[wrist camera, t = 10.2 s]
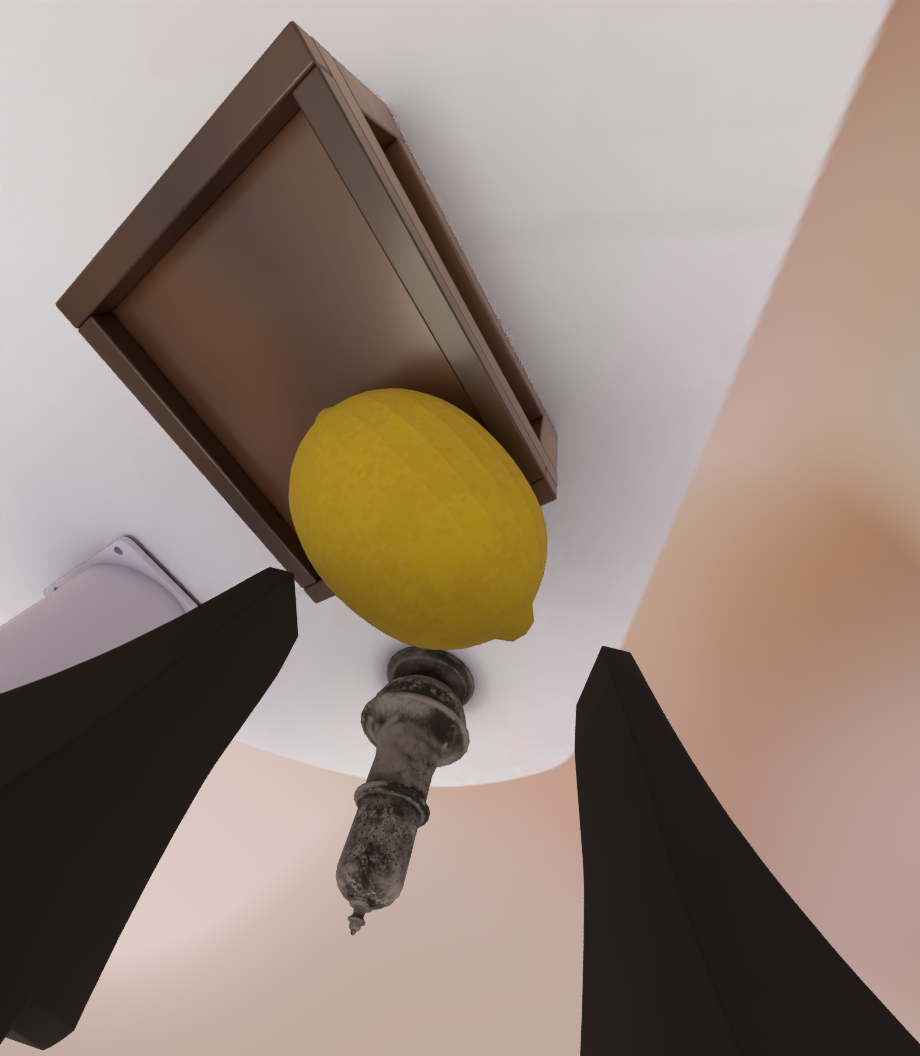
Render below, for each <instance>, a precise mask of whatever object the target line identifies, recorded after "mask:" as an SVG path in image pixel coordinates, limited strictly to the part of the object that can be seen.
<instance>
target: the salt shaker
mask: <svg viewBox="0 0 920 1056" xmlns="http://www.w3.org/2000/svg"><path fill="white" fill-rule="evenodd" d="M387 677H388V681H389V684H387V685H386V686H385V687H384V688H383V689H382V690H381V691H380V692H378V693H377V695H376V697H374V698H373V699H372V700H371V701H369V702H368V703H367V704H366V706H365V707H364V709H363V711H362V713H361V724H362V727H363V731H364V733H365V734H366V736H367V737H368V739H369V740H370V742H371V743H372V744H373V745H374V746H375V747H377V748H376V756H375V759H374V761H373V764H372V767H371V770H370V772H369V775H368V778H367V781H366V783H364V784H362V785H361V786H360V787H358V788H357V790H356V791H355V794H354V800H355V803H356V806H357V807H358V810H357V813H356V816H355V818H354V821H353V824H352V826H351V829H350V832H349V835H348V837H347V840H346V843H345V846H344V848H343V851H342V854H341V857H340V859H339V862H338V865H337V871H336V880H337V885H338V888H339V890H340V891H341V893H342V895H343V896H344V897H345V898H346V899H347V900H348V901H349V902H350V906H351V907H352V908H354V912H353V914H352V915H351V916H350V917H348V920H349V922H350V924H349V928H350V930H351V935H354V934H355V933H356V932H357V931H359V930H360V928H361V926H364V925H365V921H364V919H363V917H364V915H365V913H367V912H371V911H372V910H376V909H381V908H383V907H386V906H389V905H391V904H392V903H393V902H394V901H395V900H396V899H397V898H398V897H399V895H400V893H401V891H402V888H403V885H404V881H405V877H406V873H407V869H408V865H409V861H410V857H411V853H412V849H413V845H414V840H415V836H416V832H417V828H419V827H421V826H423V825H424V824H425V823H426V822H427V821H428V819H429V815H430V811H429V807H428V805H427V804H426V799H427V795H428V791H429V787H430V782H431V778H432V775H433V773H434V771H435V769H436V767H441V766H445V765H449V764H452V763H454V762H455V761H457V760H459V759H461V758H462V756H463V755H464V754H465V753H466V752H467V749H468V745H469V733H468V730H467V728H466V720H465V715H464V710H463V705H464V704H466V703H467V702H468V701H469V700H470V698H471V697H472V694H473V691H474V680H473V677H472V675H471V673H470V671H469V669H468V668H467V667H466V666H465V665H464V664H463V663H462V662H461V661H460V660H458V659H457V658H456V657H454V656H453V655H451V654H449V653H447V652H444V651H442V650H432V649H425V648H419V647H411V648H407V649H404V650H402V651H399V652H398V653H397V654H395V655H394V656H393V657H392V658H391V660H390V662H389V664H388V666H387Z"/></svg>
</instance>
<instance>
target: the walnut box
mask: <svg viewBox="0 0 920 1056" xmlns="http://www.w3.org/2000/svg"><path fill="white" fill-rule="evenodd" d="M56 306H57V308H58V309H59V310H60V311H61V312H62V313H63V314H64V316H65V317H66V318H67V319H68V320H69V321H70V322H71V324H72V325H73V326H74V327H75V328H79V330H78V331H79V333H80V334H81V335H82V336H83V337H84V338H85V340H86V341H87V342H88V343H89V344H90V345H91V346H92V348H93V349H94V350H95V351H96V352H97V353H98V354H99V356H100V357H101V358H102V359H103V360H104V361H105V362H106V364H107V365H108V366H109V367H110V368H111V369H112V371H113V372H114V373H115V374H116V375H117V376H118V377H119V379H120V380H121V381H122V382H123V383H124V384H125V385H126V387H127V388H128V389H129V390H130V391H131V392H132V393H133V395H134V396H135V397H136V398H137V399H138V400H139V402H140V403H141V404H142V405H143V406H144V407H145V408H146V410H147V411H148V412H149V413H150V414H151V415H152V416H153V418H154V419H155V420H156V421H157V422H158V423H159V424H160V426H161V427H162V428H163V429H164V430H165V431H166V433H167V434H168V435H169V436H170V437H171V438H172V439H173V441H174V442H175V443H176V444H177V445H178V446H179V447H180V449H181V450H182V451H183V452H184V453H185V454H186V455H187V457H188V458H189V459H190V460H191V461H192V462H193V464H194V465H195V466H196V467H197V468H198V469H199V470H200V472H201V473H202V474H203V475H204V476H205V477H206V478H207V480H208V481H209V482H210V483H211V484H212V485H213V486H214V488H215V489H216V490H217V491H218V492H219V493H220V495H221V496H222V497H223V498H224V499H225V500H226V501H227V503H228V504H229V505H230V506H231V507H232V508H233V509H234V511H235V512H236V513H237V514H238V515H239V516H240V517H241V519H242V520H243V521H244V522H245V523H246V524H247V525H248V527H249V528H250V529H251V530H252V531H253V532H254V534H255V535H256V536H257V537H258V538H259V539H260V540H261V542H262V543H263V544H264V545H265V546H266V547H267V548H268V550H269V551H270V552H271V553H272V554H273V555H274V556H275V558H276V559H277V560H278V561H279V562H280V563H281V565H282V566H283V567H284V568H285V569H286V570H287V571H288V572H292V573H294V579H295V581H296V582H297V583H298V584H299V585H300V586H301V587H302V588H304V587H305V588H304V591H305V592H306V593H307V594H308V595H309V597H310V598H311V599H312V600H313V601H314V602H315V603H319V602H321V601H323V600H326V599H328V598H330V597H332V596H335V594H334V593H333V591H332V590H331V589H330V588H329V587H328V586H327V585H326V584H325V582H324V581H323V580H322V578H321V577H320V576H319V574H318V573H317V572H316V570H315V569H314V567H313V565H312V564H311V562H310V561H309V559H308V557H307V555H306V553H305V551H304V549H303V547H302V545H301V542H300V540H299V537H298V535H297V532H296V529H295V526H294V523H293V520H292V516H291V512H290V506H289V484H290V472H291V467H292V464H293V460H294V458H295V455H296V452H297V449H298V447H299V445H300V443H301V442H302V440H303V438H304V437H305V435H306V434H307V432H308V431H309V429H310V428H311V427H312V425H313V424H314V423H315V420H316V417H317V415H318V414H319V413H320V412H321V411H322V410H323V409H325V408H328V407H333V406H335V405H337V404H338V403H340V402H342V401H344V400H345V399H347V398H349V397H351V396H354V395H357V394H360V393H363V392H365V391H371V390H377V389H387V388H403V389H408V390H414V391H418V392H422V393H426V394H429V395H432V396H435V397H438V398H440V399H442V400H444V401H446V402H448V403H450V404H452V405H454V406H456V407H457V408H459V409H460V410H462V411H464V412H465V413H466V414H468V415H469V416H470V417H472V418H473V419H474V420H476V421H477V422H478V423H479V424H480V425H481V426H482V427H483V428H484V429H486V430H487V431H488V432H489V433H490V434H491V435H492V436H493V437H494V438H495V439H496V440H497V442H498V443H499V444H500V445H501V446H502V447H503V448H504V449H505V450H506V452H507V453H508V454H509V455H510V456H511V458H512V459H513V460H514V462H515V463H516V465H517V466H518V467H519V469H520V470H521V472H522V473H523V475H524V476H525V478H526V480H527V481H528V483H529V485H530V486H531V488H532V490H533V492H534V494H535V496H536V498H537V500H538V503H539V505H540V506H542V505H544V504H546V503H549V502H551V501H553V500H555V499H556V498H557V433H556V431H555V429H554V427H553V425H552V423H551V421H550V419H549V417H548V415H547V413H546V411H545V410H544V408H543V406H542V404H541V402H540V400H539V398H538V396H537V394H536V392H535V390H534V388H533V386H532V384H531V383H530V381H529V379H528V377H527V375H526V373H525V371H524V369H523V367H522V365H521V363H520V361H519V359H518V358H517V356H516V354H515V352H514V350H513V348H512V346H511V344H510V342H509V340H508V338H507V336H506V334H505V333H504V331H503V329H502V327H501V325H500V323H499V321H498V319H497V317H496V315H495V313H494V311H493V309H492V308H491V306H490V304H489V302H488V300H487V298H486V296H485V294H484V292H483V290H482V288H481V286H480V284H479V283H478V281H477V279H476V277H475V275H474V273H473V271H472V269H471V267H470V265H469V263H468V261H467V259H466V258H465V256H464V254H463V252H462V250H461V248H460V246H459V244H458V242H457V240H456V238H455V236H454V234H453V233H452V231H451V229H450V227H449V225H448V223H447V221H446V219H445V217H444V215H443V213H442V211H441V209H440V208H439V206H438V204H437V202H436V200H435V198H434V196H433V194H432V192H431V190H430V188H429V186H428V184H427V183H426V181H425V179H424V177H423V175H422V173H421V171H420V169H419V167H418V165H417V163H416V161H415V159H414V158H413V156H412V154H411V152H410V150H409V148H408V146H407V145H406V144H405V140H404V138H403V137H402V135H401V133H400V131H399V129H398V127H397V125H396V123H395V121H394V119H393V117H392V115H391V113H390V112H389V110H388V108H387V106H386V104H385V103H384V102H383V101H381V100H380V99H379V98H378V97H377V96H376V95H375V94H374V93H373V92H371V91H370V90H369V89H368V88H367V87H366V86H365V85H364V84H363V83H361V82H360V81H359V80H358V79H357V78H356V77H355V76H354V75H353V74H351V73H350V72H349V71H348V70H347V69H346V68H345V67H344V66H343V65H341V64H340V63H339V62H338V61H337V60H336V59H335V58H334V57H333V56H331V54H330V53H329V52H328V51H327V50H326V49H325V48H324V47H322V46H321V45H320V44H319V43H318V42H317V41H316V40H315V39H314V38H312V37H311V36H309V35H308V34H307V33H306V32H305V31H304V30H303V29H302V28H300V27H299V26H298V25H297V24H296V23H295V22H294V21H291V22H289V24H288V25H287V26H286V27H285V28H284V30H283V31H282V32H281V33H280V34H279V36H278V37H277V38H276V39H275V40H274V42H273V43H272V44H271V45H270V46H269V48H268V49H267V50H266V51H265V52H264V54H263V55H262V56H261V57H260V58H259V60H258V61H257V62H256V63H255V64H254V66H253V67H252V68H251V69H250V70H249V72H248V73H247V74H246V75H245V76H244V78H243V79H242V80H241V81H240V82H239V84H238V85H237V86H236V87H235V88H234V90H233V91H232V92H231V93H230V94H229V96H228V97H227V98H226V99H225V100H224V102H223V103H222V104H221V105H220V106H219V108H218V109H217V110H216V111H215V112H214V114H213V115H212V116H211V117H210V118H209V120H208V121H207V122H206V123H205V125H204V126H203V127H202V128H201V129H200V131H199V132H198V133H197V134H196V135H195V137H194V138H193V139H192V140H191V141H190V143H189V144H188V145H187V146H186V147H185V149H184V150H183V151H182V152H181V153H180V155H179V156H178V157H177V158H176V159H175V161H174V162H173V163H172V164H171V165H170V167H169V168H168V169H167V170H166V171H165V173H164V174H163V175H162V176H161V177H160V179H159V180H158V181H157V182H156V183H155V185H154V186H153V187H152V188H151V189H150V191H149V192H148V193H147V194H146V195H145V197H144V198H143V199H142V200H141V201H140V203H139V204H138V205H137V206H136V207H135V209H134V210H133V211H132V212H131V213H130V215H129V216H128V217H127V218H126V219H125V221H124V222H123V223H122V224H121V225H120V227H119V228H118V229H117V230H116V231H115V233H114V234H113V235H112V236H111V237H110V239H109V240H108V241H107V242H106V243H105V245H104V246H103V247H102V248H101V250H100V251H99V252H98V253H97V254H96V256H95V257H94V258H93V259H92V260H91V262H90V263H89V264H88V265H87V266H86V268H85V269H84V270H83V271H82V272H81V274H80V275H79V276H78V277H77V278H76V280H75V281H74V282H73V283H72V284H71V286H70V287H69V288H68V289H67V290H66V292H65V293H64V294H63V295H62V296H61V298H60V299H59V300H58V301H57V302H56Z"/></svg>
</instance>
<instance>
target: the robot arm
mask: <svg viewBox="0 0 920 1056" xmlns="http://www.w3.org/2000/svg"><path fill="white" fill-rule="evenodd" d="M44 595H45V596H46V597H44V598H43V599H41V600H40V601H38V602H37V603H35V604H34V605H32V606H31V607H29V608H28V609H26V610H25V611H23V612H22V613H20V614H19V615H17V616H15V617H14V618H12V619H11V620H9V621H8V622H6V623H5V624H3V625H2V626H0V1044H1V1042H2V1041H3V1040H4V1038H5V1037H6V1038H9V1039H12V1040H15V1041H18V1042H21V1043H23V1044H26V1045H29V1046H32V1047H35V1048H38V1049H41V1050H45V1049H47V1048H49V1047H51V1046H53V1045H55V1044H56V1043H58V1042H59V1041H61V1040H62V1039H64V1038H65V1037H66V1036H68V1035H69V1034H70V1033H72V1032H73V1031H74V1029H75V1027H76V1025H77V1023H78V1021H79V1019H80V1017H81V1014H82V1012H83V1010H84V1008H85V1006H86V1004H87V1002H88V1000H89V998H90V996H91V994H92V992H93V989H94V988H95V986H96V983H97V981H98V979H99V977H100V975H101V973H102V971H103V969H104V967H105V965H106V963H107V961H108V959H109V957H110V955H111V953H112V951H113V949H114V946H115V944H116V943H117V940H118V938H119V936H120V935H121V932H122V931H123V929H124V927H125V925H126V923H127V921H128V919H129V917H130V915H131V913H132V911H133V909H134V907H135V905H136V904H137V902H138V900H139V898H140V896H141V894H142V892H143V890H144V888H145V886H146V884H147V883H148V881H149V879H150V877H151V875H152V873H153V871H154V869H155V868H156V866H157V864H158V862H159V860H160V858H161V857H162V855H163V853H164V851H165V849H166V848H167V846H168V844H169V842H170V840H171V838H172V837H173V834H174V833H175V831H176V829H177V828H178V826H179V824H180V822H181V820H182V819H183V817H184V815H185V814H186V812H187V810H188V808H189V807H190V805H191V803H192V801H193V800H194V798H195V796H196V794H197V793H198V791H199V789H200V788H201V786H202V784H203V782H204V781H205V779H206V778H207V776H208V775H209V773H210V771H211V770H212V768H213V767H214V765H215V764H216V762H217V761H218V759H219V758H220V756H221V755H222V753H223V752H224V751H225V749H226V748H227V746H228V745H229V744H230V742H231V741H232V739H233V738H234V736H235V735H236V734H237V732H238V731H239V729H240V728H241V727H242V725H243V724H244V722H245V721H246V719H247V718H248V717H249V715H250V714H251V712H252V711H253V709H254V708H255V707H256V705H257V704H258V702H259V701H260V699H261V698H262V697H263V695H264V694H265V692H266V691H267V689H268V688H269V686H270V685H271V684H272V682H273V681H274V679H275V678H276V676H277V675H278V673H279V671H280V669H281V667H282V666H283V664H284V662H285V660H286V658H287V657H288V655H289V653H290V651H291V649H292V647H293V645H294V643H295V641H296V639H297V637H298V627H297V612H296V597H295V582H294V573H292V572H288V571H284V570H280V569H275V568H271V567H269V568H267V569H265V570H263V571H261V572H259V573H257V574H255V575H254V576H252V577H250V578H248V579H246V580H245V581H243V582H241V583H239V584H237V585H236V586H234V587H232V588H230V589H229V590H227V591H225V592H223V593H221V594H220V595H218V596H216V597H214V598H212V599H211V600H209V601H207V602H205V603H203V604H201V605H199V606H198V605H197V604H196V603H195V602H194V601H193V600H192V599H191V598H190V597H189V596H188V595H187V594H186V593H185V592H184V591H183V590H182V589H181V588H180V587H179V586H178V585H177V584H176V583H175V582H174V581H173V580H172V579H171V578H170V577H169V576H168V575H167V574H166V573H165V572H164V571H163V570H162V569H161V568H160V567H159V566H158V565H157V564H156V563H155V562H154V561H153V560H152V559H151V558H150V557H149V556H148V555H147V554H146V553H145V552H144V551H143V550H142V549H141V548H140V547H139V546H138V545H137V544H136V543H135V542H134V541H133V540H131V539H130V538H128V537H121V538H120V539H118V540H116V541H115V542H113V543H112V544H111V545H109V546H108V547H106V548H105V549H103V550H102V551H100V552H99V553H97V554H96V555H94V556H93V557H92V558H90V559H89V560H87V561H86V562H84V563H83V564H81V565H80V566H78V567H77V568H76V569H74V570H73V571H71V572H70V573H68V574H67V575H65V576H64V577H62V578H61V579H59V580H58V581H57V582H55V583H54V584H52V585H51V586H49V587H48V588H46V589H45V590H44ZM575 762H576V776H577V790H578V802H579V815H580V829H581V842H582V854H583V871H584V951H583V995H582V1025H581V1051H580V1056H920V1044H919V1043H918V1041H917V1040H916V1039H915V1038H914V1037H913V1036H912V1035H911V1034H910V1033H909V1032H908V1031H907V1030H906V1029H905V1028H904V1026H903V1025H902V1024H901V1023H900V1022H899V1021H898V1020H897V1019H896V1018H895V1016H894V1015H892V1013H891V1012H890V1011H889V1010H888V1009H887V1008H886V1007H885V1005H884V1004H883V1003H882V1002H881V1001H880V1000H879V999H878V998H877V997H876V996H875V995H874V993H873V992H872V991H871V990H870V989H869V988H868V987H867V986H866V985H865V983H864V982H862V980H861V979H860V978H859V977H858V976H857V975H856V973H855V972H854V971H853V970H852V969H851V968H850V967H849V965H848V964H847V963H846V962H845V961H844V960H843V959H842V957H840V955H839V954H838V953H837V952H836V951H835V949H834V948H833V947H832V946H831V945H830V944H829V942H828V941H827V940H826V939H825V938H824V936H823V935H822V934H821V933H820V932H819V930H818V929H817V928H816V927H815V926H814V924H813V923H812V922H811V921H810V920H809V918H808V917H807V916H806V915H805V914H804V912H803V911H802V910H801V909H800V908H799V906H798V905H797V904H796V903H795V902H794V900H793V899H792V898H791V897H790V896H789V894H788V893H787V892H786V891H785V889H784V888H783V887H782V886H781V885H780V883H779V882H778V881H777V879H776V878H775V877H774V876H773V874H772V873H771V872H770V871H769V869H768V868H767V867H766V865H765V864H764V863H763V862H762V860H761V859H760V857H759V856H758V855H757V853H756V852H755V851H754V849H753V848H752V847H751V846H750V844H749V843H748V841H747V840H746V839H745V837H744V836H743V835H742V833H741V832H740V831H739V829H738V828H737V827H736V826H735V824H734V823H733V821H732V820H731V818H730V817H729V816H728V814H727V813H726V811H725V810H724V808H723V807H722V805H721V804H720V802H718V800H717V798H716V796H715V795H714V793H713V792H712V790H711V789H710V788H709V786H708V784H707V783H706V781H705V780H704V779H703V777H702V775H701V774H700V772H699V771H698V769H697V767H696V766H695V764H694V763H693V761H692V759H691V758H690V756H689V755H688V753H687V751H686V750H685V748H684V746H683V745H682V743H681V741H680V740H679V738H678V737H677V735H676V733H675V731H674V730H673V728H672V726H671V725H670V723H669V721H668V719H667V718H666V716H665V714H664V713H663V711H662V709H661V707H660V706H659V704H658V702H657V700H656V698H655V696H654V695H653V693H652V691H651V689H650V687H649V686H648V684H647V682H646V680H645V678H644V676H643V675H642V673H641V671H640V669H639V667H638V666H637V664H636V662H635V660H634V658H633V656H632V655H631V653H630V652H626V651H622V650H618V649H614V648H609V647H605V646H602V647H601V650H600V652H599V654H598V657H597V659H596V661H595V664H594V666H593V668H592V671H591V673H590V675H589V677H588V680H587V682H586V684H585V687H584V689H583V691H582V694H581V696H580V698H579V700H578V703H577V705H576V726H575Z"/></svg>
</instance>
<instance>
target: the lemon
mask: <svg viewBox="0 0 920 1056" xmlns="http://www.w3.org/2000/svg"><path fill="white" fill-rule="evenodd" d="M289 506H290V512H291V516H292V520H293V523H294V526H295V529H296V532H297V535H298V537H299V540H300V542H301V545H302V547H303V549H304V551H305V553H306V555H307V557H308V559H309V561H310V562H311V564H312V565H313V567H314V569H315V570H316V572H317V573H318V574H319V576H320V577H321V578H322V580H323V581H324V582H325V584H326V585H327V586H328V587H329V588H330V589H331V590H332V591H333V593H334V594H335V595H336V596H337V597H338V598H339V599H340V600H341V601H343V602H344V603H345V604H346V605H347V606H348V607H349V608H350V609H351V610H353V611H354V612H355V613H356V614H358V615H359V616H360V617H361V618H363V619H364V620H365V621H367V622H368V623H370V624H371V625H372V626H374V627H375V628H377V629H379V630H380V631H382V632H383V633H385V634H387V635H389V636H391V637H393V638H395V639H397V640H399V641H401V642H403V643H406V644H409V645H412V646H415V647H419V648H425V649H432V650H454V649H463V648H468V647H472V646H475V645H479V644H482V643H485V642H487V641H490V640H493V639H500V640H506V641H512V642H513V641H515V640H516V639H518V638H520V637H521V636H523V635H525V634H526V633H527V631H528V630H529V628H530V627H531V625H532V624H533V622H534V616H533V605H532V603H533V601H534V598H535V596H536V594H537V592H538V589H539V586H540V583H541V580H542V577H543V574H544V569H545V563H546V556H547V535H546V525H545V521H544V517H543V513H542V510H541V508H540V505H539V503H538V500H537V498H536V496H535V494H534V492H533V490H532V488H531V486H530V485H529V483H528V481H527V480H526V478H525V476H524V475H523V473H522V472H521V470H520V469H519V467H518V466H517V465H516V463H515V462H514V460H513V459H512V458H511V456H510V455H509V454H508V453H507V452H506V450H505V449H504V448H503V447H502V446H501V445H500V444H499V443H498V442H497V440H496V439H495V438H494V437H493V436H492V435H491V434H490V433H489V432H488V431H487V430H486V429H484V428H483V427H482V426H481V425H480V424H479V423H478V422H477V421H476V420H474V419H473V418H472V417H470V416H469V415H468V414H466V413H465V412H464V411H462V410H460V409H459V408H457V407H456V406H454V405H452V404H450V403H448V402H446V401H444V400H442V399H440V398H438V397H435V396H432V395H429V394H426V393H422V392H418V391H414V390H408V389H403V388H387V389H377V390H371V391H365V392H363V393H360V394H357V395H354V396H351V397H349V398H347V399H345V400H344V401H342V402H340V403H338V404H337V405H335V406H333V407H328V408H325V409H323V410H322V411H321V412H320V413H319V414H318V415H317V417H316V420H315V423H314V424H313V425H312V427H311V428H310V429H309V431H308V432H307V434H306V435H305V437H304V438H303V440H302V442H301V443H300V445H299V447H298V449H297V452H296V455H295V458H294V460H293V464H292V467H291V472H290V484H289Z"/></svg>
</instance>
